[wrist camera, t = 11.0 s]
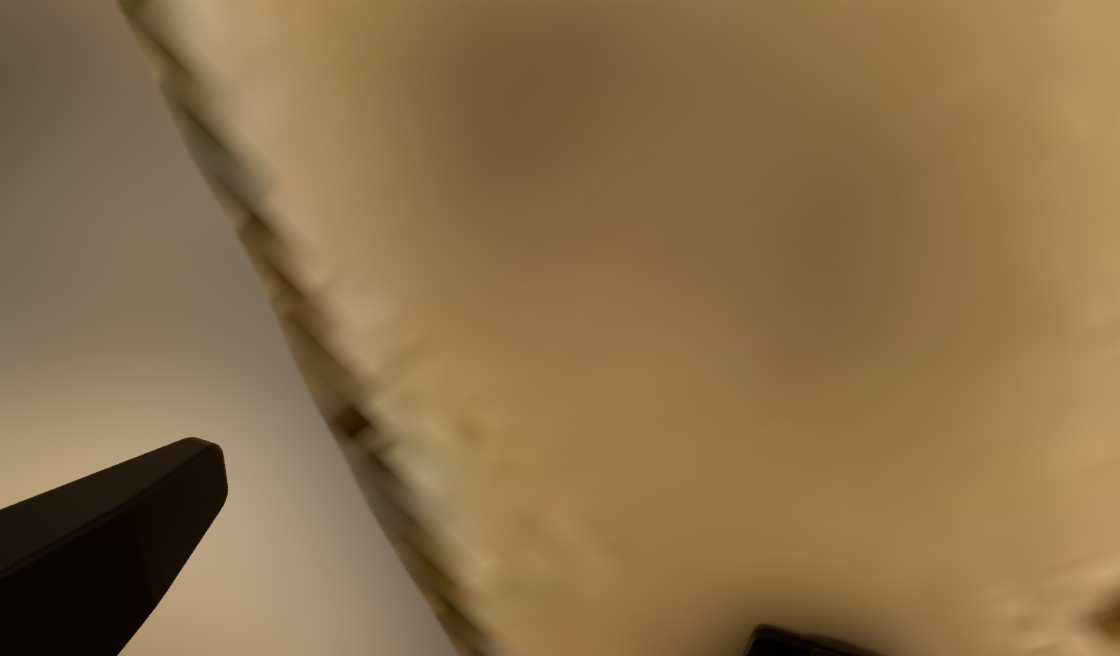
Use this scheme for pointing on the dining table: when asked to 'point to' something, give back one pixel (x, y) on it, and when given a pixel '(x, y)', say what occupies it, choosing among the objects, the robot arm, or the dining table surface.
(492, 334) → the dining table surface
